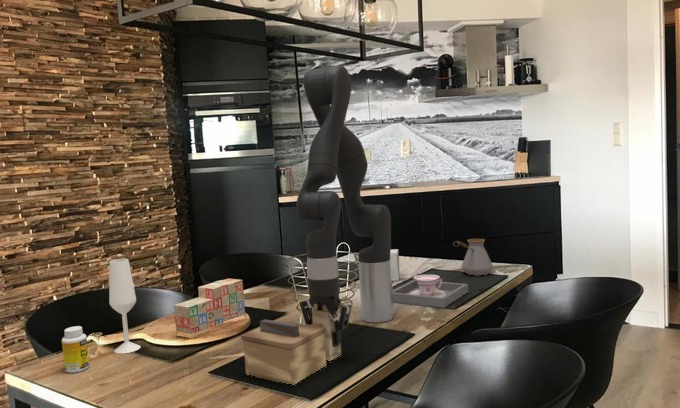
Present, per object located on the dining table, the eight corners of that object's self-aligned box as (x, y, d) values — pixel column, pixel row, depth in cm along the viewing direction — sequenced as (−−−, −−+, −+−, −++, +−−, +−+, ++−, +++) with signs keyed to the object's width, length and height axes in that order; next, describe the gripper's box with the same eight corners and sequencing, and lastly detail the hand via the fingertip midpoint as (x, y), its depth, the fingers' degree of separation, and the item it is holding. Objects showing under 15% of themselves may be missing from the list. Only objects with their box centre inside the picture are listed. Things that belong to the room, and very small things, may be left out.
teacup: (410, 301, 183) (409, 282, 182) (407, 291, 195) (407, 273, 194) (448, 299, 182) (447, 280, 182) (443, 290, 194) (443, 272, 193)
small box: (398, 281, 213) (397, 252, 212) (383, 281, 214) (382, 253, 213) (400, 276, 221) (398, 248, 220) (385, 276, 222) (384, 249, 221)
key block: (326, 353, 143) (323, 305, 142) (341, 355, 140) (338, 307, 139) (315, 359, 139) (312, 310, 138) (330, 362, 137) (327, 312, 136)
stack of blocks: (191, 340, 159) (187, 296, 158) (176, 337, 163) (172, 294, 162) (246, 318, 177) (242, 279, 176) (231, 316, 180) (228, 277, 179)
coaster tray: (415, 287, 202) (414, 279, 201) (468, 293, 191) (467, 284, 190) (387, 302, 186) (387, 292, 185) (444, 308, 175) (443, 298, 174)
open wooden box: (279, 357, 142) (277, 325, 141) (326, 366, 134) (324, 333, 133) (246, 374, 132) (243, 340, 131) (294, 386, 124) (291, 349, 123)
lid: (281, 321, 143) (280, 308, 143) (330, 329, 135) (329, 315, 134) (241, 339, 131) (240, 325, 131) (291, 349, 123) (290, 333, 123)
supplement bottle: (84, 372, 139) (80, 331, 138) (61, 374, 139) (56, 333, 138) (93, 364, 145) (89, 324, 144) (70, 365, 145) (66, 325, 144)
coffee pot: (470, 269, 225) (469, 231, 224) (498, 272, 218) (497, 232, 216) (442, 281, 209) (441, 240, 207) (471, 284, 201) (470, 242, 200)
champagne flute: (145, 347, 155) (137, 259, 153) (122, 355, 150) (113, 264, 148) (132, 342, 160) (124, 257, 157) (109, 350, 154) (100, 261, 152)
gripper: (356, 273, 137) (360, 343, 139) (308, 269, 145) (313, 335, 147) (339, 280, 131) (343, 354, 132) (289, 275, 139) (294, 345, 141)
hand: (327, 344), depth 140 cm, fingers closed on key block, 4 cm apart
